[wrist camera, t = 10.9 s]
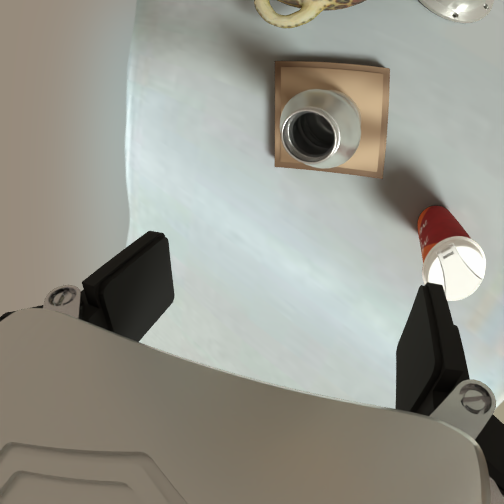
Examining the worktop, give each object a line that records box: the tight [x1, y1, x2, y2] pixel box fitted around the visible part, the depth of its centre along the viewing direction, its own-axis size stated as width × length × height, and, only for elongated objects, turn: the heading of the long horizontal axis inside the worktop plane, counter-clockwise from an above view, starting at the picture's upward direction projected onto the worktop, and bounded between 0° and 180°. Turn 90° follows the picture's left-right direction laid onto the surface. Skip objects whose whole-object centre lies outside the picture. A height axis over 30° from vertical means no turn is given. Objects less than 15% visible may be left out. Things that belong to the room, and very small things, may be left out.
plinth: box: [275, 61, 390, 179], centre depth 37 cm, size 14×14×3 cm
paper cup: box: [418, 206, 486, 301], centre depth 35 cm, size 8×8×14 cm
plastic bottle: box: [280, 89, 361, 168], centre depth 28 cm, size 6×7×20 cm
